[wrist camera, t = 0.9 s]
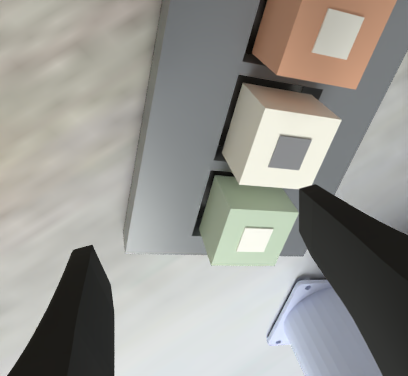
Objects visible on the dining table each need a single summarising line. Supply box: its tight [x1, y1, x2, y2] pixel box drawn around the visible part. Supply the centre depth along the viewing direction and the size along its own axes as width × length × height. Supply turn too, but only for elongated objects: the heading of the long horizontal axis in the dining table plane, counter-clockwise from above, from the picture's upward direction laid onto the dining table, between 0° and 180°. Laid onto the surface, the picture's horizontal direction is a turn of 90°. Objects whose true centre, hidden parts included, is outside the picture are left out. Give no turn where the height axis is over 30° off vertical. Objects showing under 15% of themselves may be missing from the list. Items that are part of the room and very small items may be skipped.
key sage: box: [199, 175, 299, 266], centre depth 21 cm, size 4×4×3 cm
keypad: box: [123, 0, 408, 256], centre depth 20 cm, size 12×18×2 cm, turn 167°
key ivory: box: [222, 83, 342, 189], centre depth 19 cm, size 4×4×3 cm
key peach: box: [252, 0, 397, 90], centre depth 16 cm, size 4×4×3 cm
